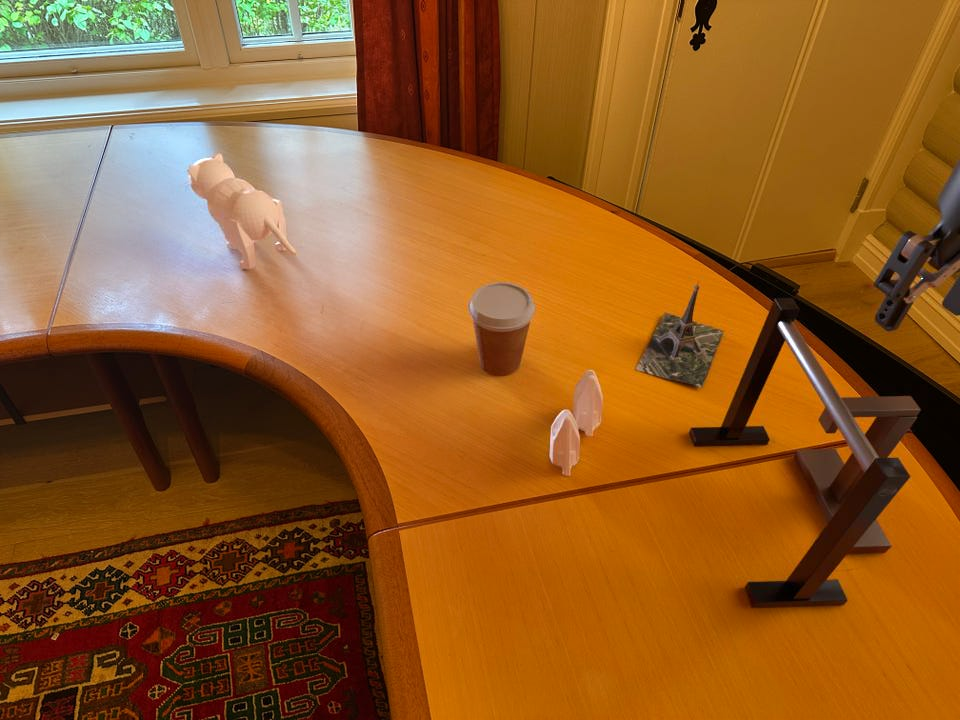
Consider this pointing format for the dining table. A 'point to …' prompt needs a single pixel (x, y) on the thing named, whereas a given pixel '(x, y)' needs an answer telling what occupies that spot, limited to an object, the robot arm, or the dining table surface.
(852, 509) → the rack
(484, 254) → the dining table surface
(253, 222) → the cat figurine
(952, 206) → the robot arm
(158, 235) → the dining table surface
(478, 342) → the disposable coffee cup
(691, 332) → the eiffel tower figurine
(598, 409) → the shaker set
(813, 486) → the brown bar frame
